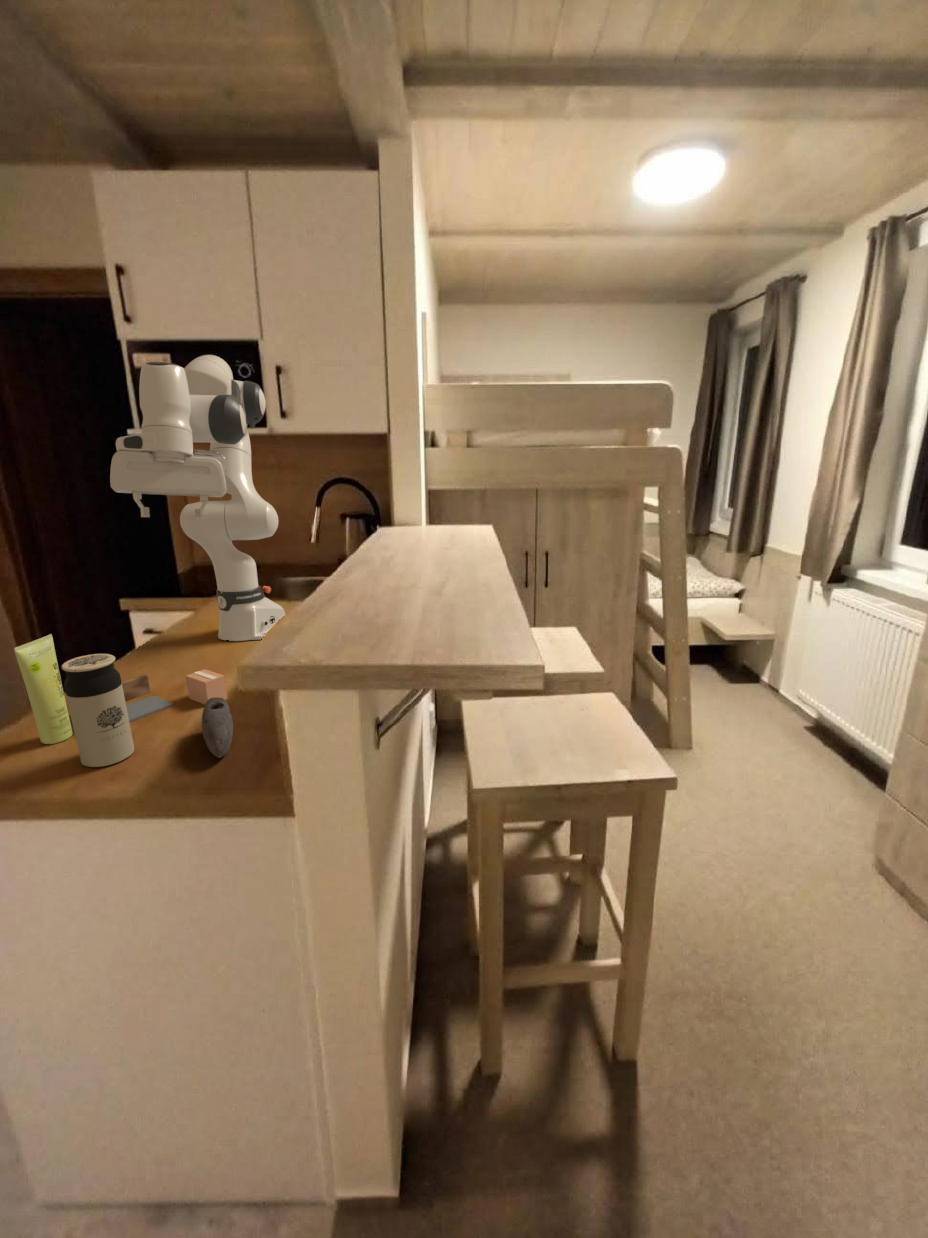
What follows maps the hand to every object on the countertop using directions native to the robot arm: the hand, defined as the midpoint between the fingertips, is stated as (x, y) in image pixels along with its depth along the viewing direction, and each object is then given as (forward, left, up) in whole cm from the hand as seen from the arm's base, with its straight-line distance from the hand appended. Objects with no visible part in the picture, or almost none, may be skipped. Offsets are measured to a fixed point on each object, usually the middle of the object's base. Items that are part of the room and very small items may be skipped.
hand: (172, 517), depth 108 cm
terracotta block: (-1, +2, -39) cm, 39 cm away
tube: (+25, -6, -39) cm, 47 cm away
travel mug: (+23, +9, -39) cm, 47 cm away
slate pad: (+10, -5, -39) cm, 41 cm away
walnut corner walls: (+12, -6, -39) cm, 41 cm away
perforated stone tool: (+10, +22, -39) cm, 46 cm away
